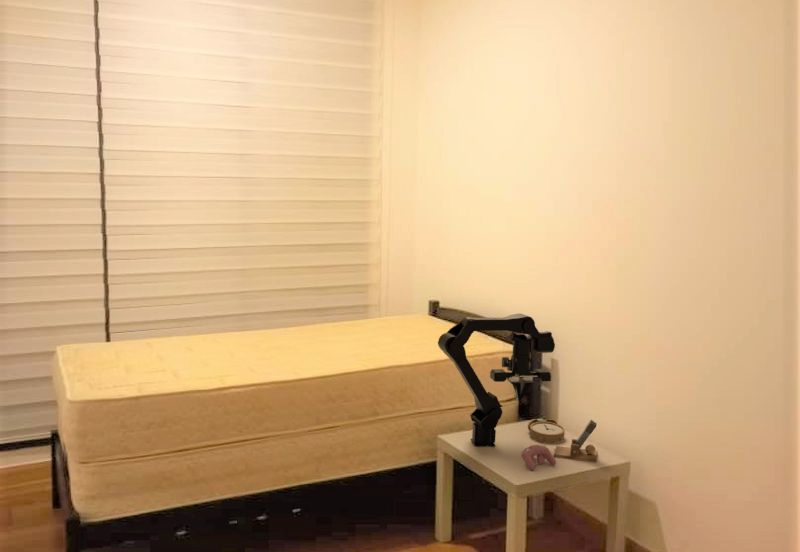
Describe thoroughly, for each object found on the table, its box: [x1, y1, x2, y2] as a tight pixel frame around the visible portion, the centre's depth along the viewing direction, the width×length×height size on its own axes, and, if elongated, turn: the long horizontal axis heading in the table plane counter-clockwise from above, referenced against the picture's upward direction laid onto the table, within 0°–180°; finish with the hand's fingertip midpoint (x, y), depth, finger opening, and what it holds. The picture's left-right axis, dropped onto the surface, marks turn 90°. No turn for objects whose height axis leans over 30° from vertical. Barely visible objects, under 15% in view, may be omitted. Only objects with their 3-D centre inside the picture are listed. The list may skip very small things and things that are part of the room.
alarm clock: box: [527, 418, 566, 444], centre depth 246 cm, size 11×5×15 cm
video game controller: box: [521, 444, 557, 472], centre depth 219 cm, size 10×5×7 cm, turn 123°
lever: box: [574, 419, 597, 449], centre depth 228 cm, size 2×3×10 cm, turn 164°
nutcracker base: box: [553, 438, 598, 463], centre depth 229 cm, size 12×8×4 cm, turn 73°
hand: (519, 401), depth 239 cm, fingers closed
